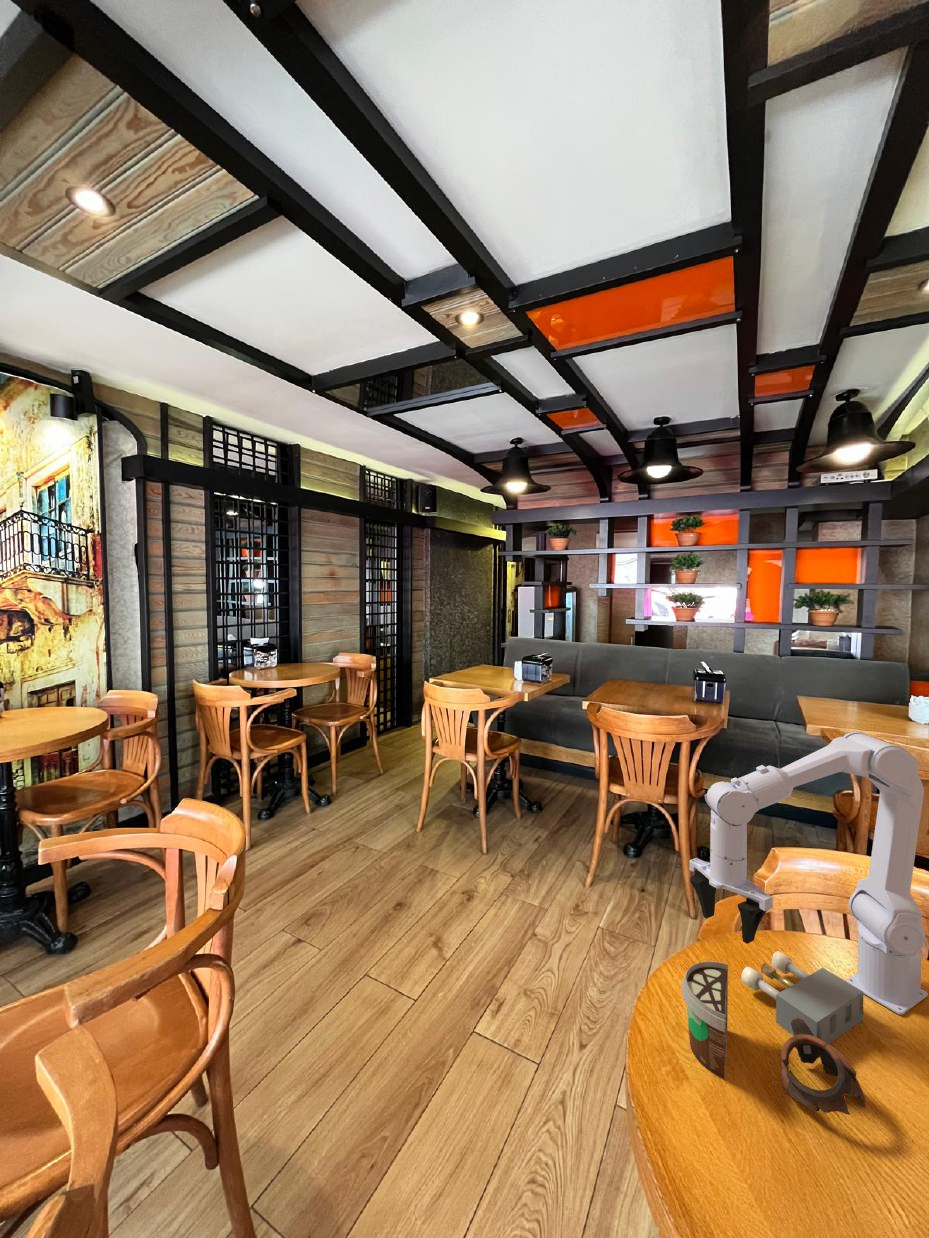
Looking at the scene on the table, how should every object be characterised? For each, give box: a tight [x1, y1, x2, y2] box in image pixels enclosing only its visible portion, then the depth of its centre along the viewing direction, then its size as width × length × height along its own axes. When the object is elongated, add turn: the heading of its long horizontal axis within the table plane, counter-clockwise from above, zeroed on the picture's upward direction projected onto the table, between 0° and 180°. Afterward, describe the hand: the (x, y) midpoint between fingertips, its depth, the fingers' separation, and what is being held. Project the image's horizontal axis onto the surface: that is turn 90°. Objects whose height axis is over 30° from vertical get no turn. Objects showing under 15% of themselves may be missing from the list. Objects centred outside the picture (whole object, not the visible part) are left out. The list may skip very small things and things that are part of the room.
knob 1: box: [741, 965, 781, 1001], centre depth 83 cm, size 3×7×3 cm, turn 26°
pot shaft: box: [760, 962, 795, 988], centre depth 85 cm, size 2×7×2 cm, turn 26°
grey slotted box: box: [775, 967, 864, 1045], centre depth 80 cm, size 13×6×5 cm, turn 116°
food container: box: [681, 960, 729, 1080], centre depth 76 cm, size 12×6×10 cm, turn 150°
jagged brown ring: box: [780, 1018, 866, 1116], centre depth 69 cm, size 12×10×8 cm
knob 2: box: [771, 950, 810, 981], centre depth 87 cm, size 3×7×3 cm, turn 26°
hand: (727, 928), depth 88 cm, fingers open, 7 cm apart
